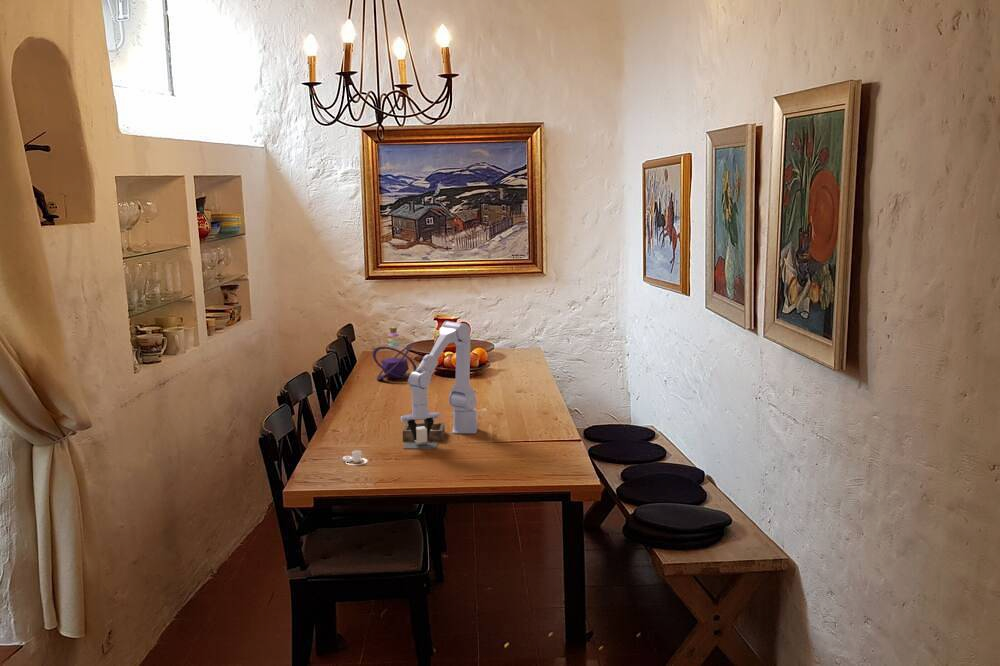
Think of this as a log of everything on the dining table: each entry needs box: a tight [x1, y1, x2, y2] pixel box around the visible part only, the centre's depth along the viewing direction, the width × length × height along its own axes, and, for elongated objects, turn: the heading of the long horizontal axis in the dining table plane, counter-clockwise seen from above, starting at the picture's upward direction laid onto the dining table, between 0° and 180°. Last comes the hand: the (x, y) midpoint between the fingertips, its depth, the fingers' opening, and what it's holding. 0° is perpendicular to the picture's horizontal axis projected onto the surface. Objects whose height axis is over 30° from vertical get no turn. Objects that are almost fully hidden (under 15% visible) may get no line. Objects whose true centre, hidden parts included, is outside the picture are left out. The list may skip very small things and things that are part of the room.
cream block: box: [413, 426, 428, 443], centre depth 340 cm, size 4×4×5 cm
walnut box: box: [402, 422, 446, 442], centre depth 351 cm, size 15×11×4 cm
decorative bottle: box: [372, 326, 418, 381], centre depth 445 cm, size 22×21×25 cm
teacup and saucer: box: [342, 449, 369, 466], centre depth 323 cm, size 9×8×4 cm
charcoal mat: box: [403, 441, 439, 450], centre depth 341 cm, size 12×8×1 cm, turn 89°
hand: (420, 438), depth 340 cm, fingers closed on cream block, 4 cm apart
